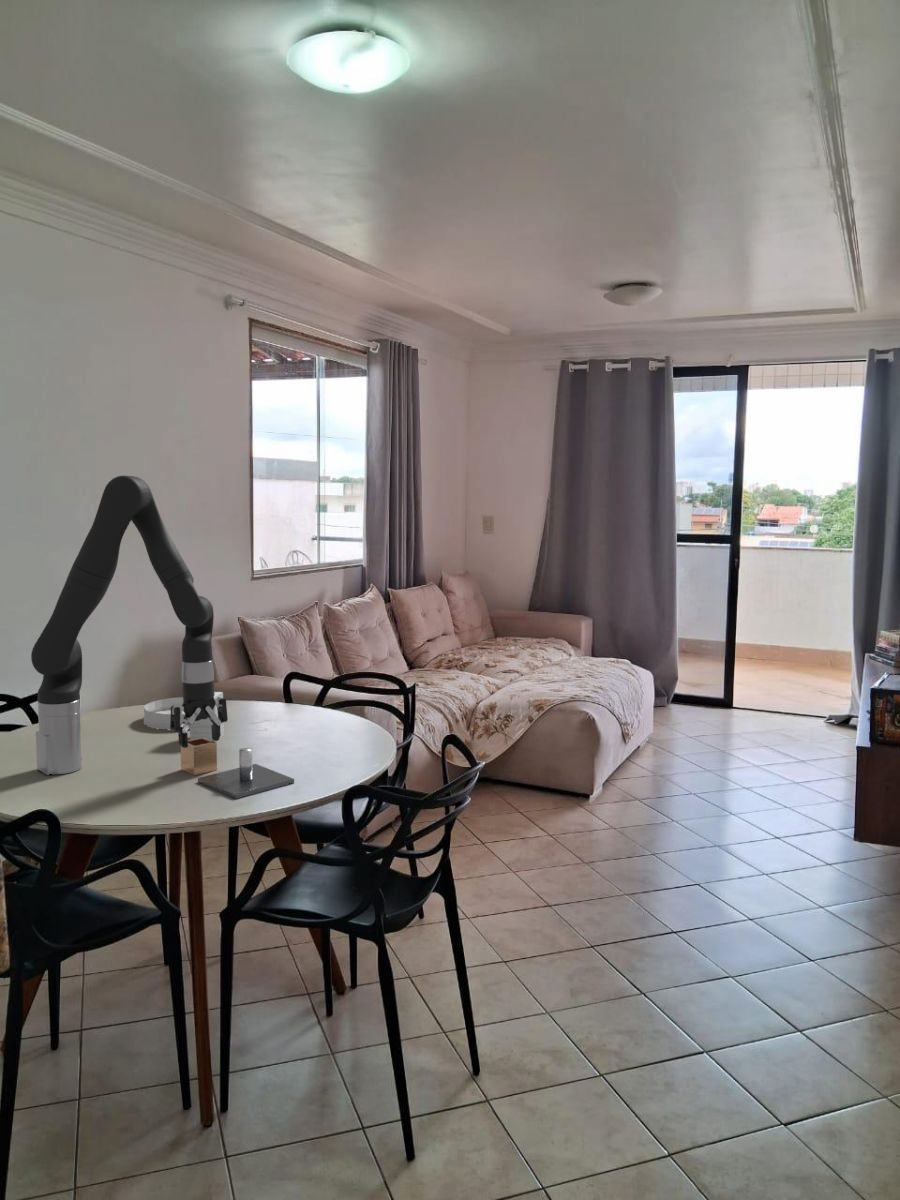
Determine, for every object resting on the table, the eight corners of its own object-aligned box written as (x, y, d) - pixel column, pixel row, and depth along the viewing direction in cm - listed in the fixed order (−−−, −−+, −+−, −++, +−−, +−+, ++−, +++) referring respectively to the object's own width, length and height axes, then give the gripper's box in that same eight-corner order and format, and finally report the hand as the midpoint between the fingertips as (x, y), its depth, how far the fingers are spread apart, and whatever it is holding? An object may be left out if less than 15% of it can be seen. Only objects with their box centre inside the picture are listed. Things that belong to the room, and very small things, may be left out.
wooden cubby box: (194, 775, 209) (193, 747, 208) (181, 769, 213) (180, 741, 212) (216, 769, 213) (216, 742, 212) (203, 764, 217) (203, 737, 217)
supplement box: (224, 735, 244) (224, 691, 242) (215, 743, 236) (214, 697, 235) (199, 734, 244) (198, 690, 243) (188, 741, 237) (188, 696, 235)
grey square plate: (235, 799, 193) (235, 764, 192) (197, 782, 204) (197, 749, 203) (294, 783, 205) (294, 750, 204) (255, 767, 216) (255, 736, 215)
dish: (193, 708, 274) (192, 693, 274) (236, 721, 261) (235, 705, 260) (128, 721, 257) (128, 705, 257) (171, 735, 243) (170, 718, 243)
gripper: (179, 685, 203) (181, 752, 205) (232, 676, 213) (233, 740, 215) (163, 681, 208) (165, 746, 210) (215, 672, 218) (217, 735, 220)
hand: (200, 743), depth 212 cm, fingers open, 8 cm apart
